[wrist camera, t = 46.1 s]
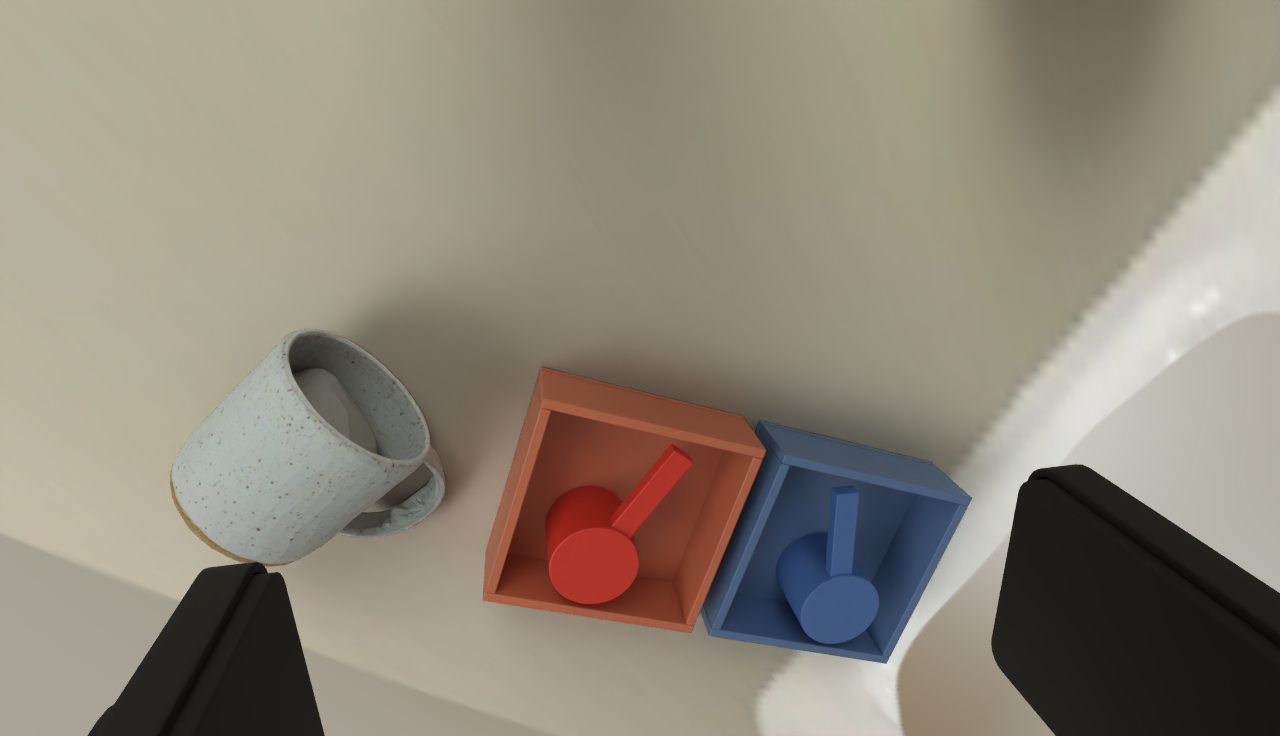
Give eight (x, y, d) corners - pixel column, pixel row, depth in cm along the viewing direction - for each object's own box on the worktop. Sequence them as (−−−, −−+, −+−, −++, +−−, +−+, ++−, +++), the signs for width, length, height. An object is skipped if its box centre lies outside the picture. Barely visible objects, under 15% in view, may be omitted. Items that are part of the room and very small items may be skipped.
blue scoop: (844, 591, 43) (875, 638, 39) (773, 601, 42) (798, 649, 39) (856, 454, 40) (892, 491, 36) (780, 462, 39) (808, 501, 35)
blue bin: (759, 419, 39) (785, 454, 35) (931, 461, 41) (972, 498, 38) (691, 588, 42) (708, 636, 38) (855, 616, 45) (886, 664, 41)
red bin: (540, 366, 35) (543, 398, 32) (742, 415, 38) (767, 450, 35) (485, 552, 39) (482, 601, 35) (675, 585, 41) (691, 633, 38)
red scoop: (595, 569, 40) (603, 618, 36) (528, 532, 38) (530, 580, 34) (700, 443, 38) (720, 481, 34) (635, 399, 36) (648, 434, 33)
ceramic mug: (195, 424, 34) (114, 515, 27) (313, 304, 33) (261, 366, 26) (378, 549, 38) (349, 657, 31) (488, 446, 37) (484, 533, 30)
